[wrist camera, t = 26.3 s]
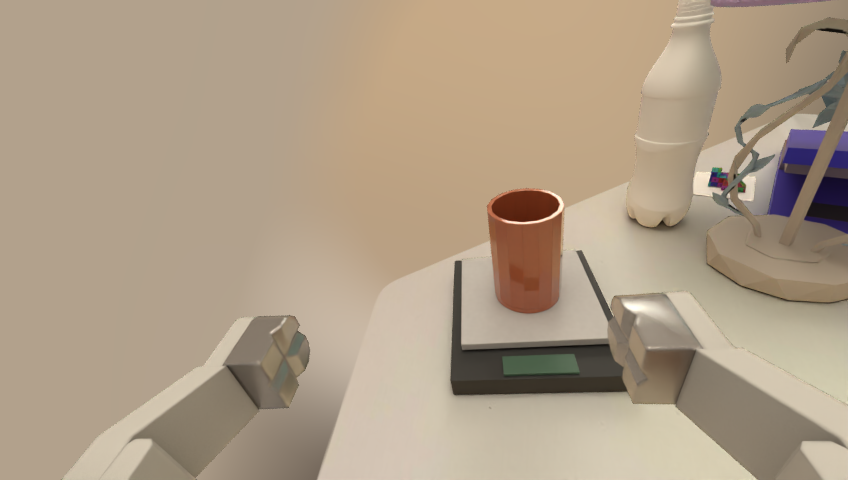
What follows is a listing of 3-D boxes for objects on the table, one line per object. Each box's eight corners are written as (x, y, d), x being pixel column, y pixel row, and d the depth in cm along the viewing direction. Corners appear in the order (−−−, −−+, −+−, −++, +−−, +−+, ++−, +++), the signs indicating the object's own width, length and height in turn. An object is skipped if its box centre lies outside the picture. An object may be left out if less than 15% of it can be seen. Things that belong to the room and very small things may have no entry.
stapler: (755, 236, 41) (787, 153, 36) (775, 151, 57) (799, 86, 52) (916, 265, 34) (985, 167, 28) (886, 159, 50) (927, 85, 45)
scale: (453, 394, 31) (448, 373, 30) (456, 273, 45) (453, 254, 44) (638, 391, 29) (643, 367, 27) (580, 263, 43) (582, 243, 41)
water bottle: (688, 235, 44) (753, -9, 30) (622, 229, 47) (654, 7, 34) (683, 206, 49) (737, -13, 35) (624, 203, 52) (653, 1, 39)
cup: (497, 315, 34) (489, 228, 29) (492, 273, 39) (485, 193, 34) (567, 311, 33) (572, 219, 28) (552, 268, 38) (554, 184, 33)
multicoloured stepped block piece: (706, 188, 51) (711, 173, 50) (709, 180, 53) (713, 165, 52) (744, 192, 49) (750, 176, 48) (746, 183, 51) (751, 168, 49)
